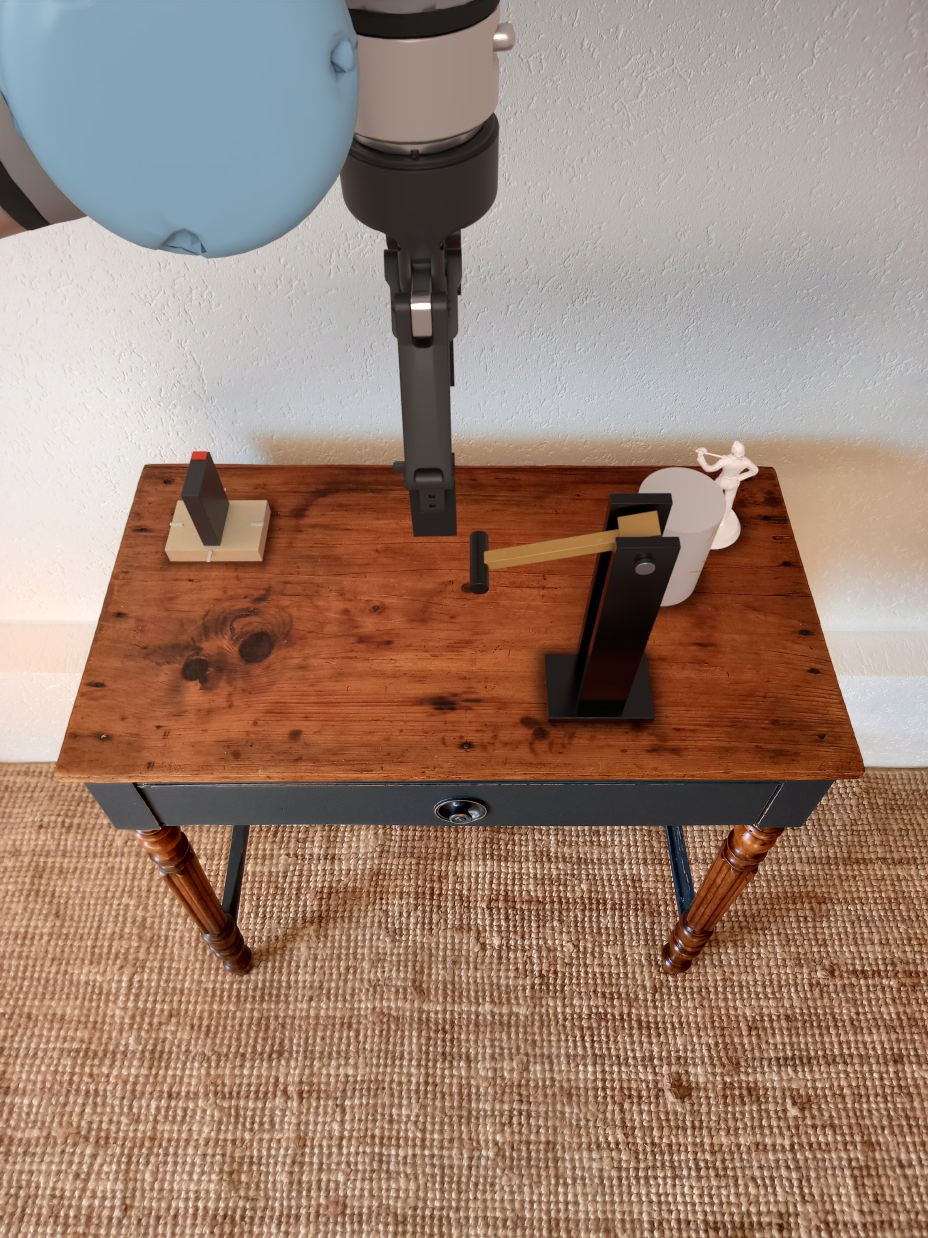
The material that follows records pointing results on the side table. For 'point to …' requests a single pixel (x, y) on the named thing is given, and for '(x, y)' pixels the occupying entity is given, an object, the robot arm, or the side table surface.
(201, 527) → the thumbturn
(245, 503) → the plate
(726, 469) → the figurine
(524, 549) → the latch lever
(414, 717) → the side table surface
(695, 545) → the light grey cylinder
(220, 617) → the side table surface
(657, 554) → the latch bracket
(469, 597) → the side table surface
